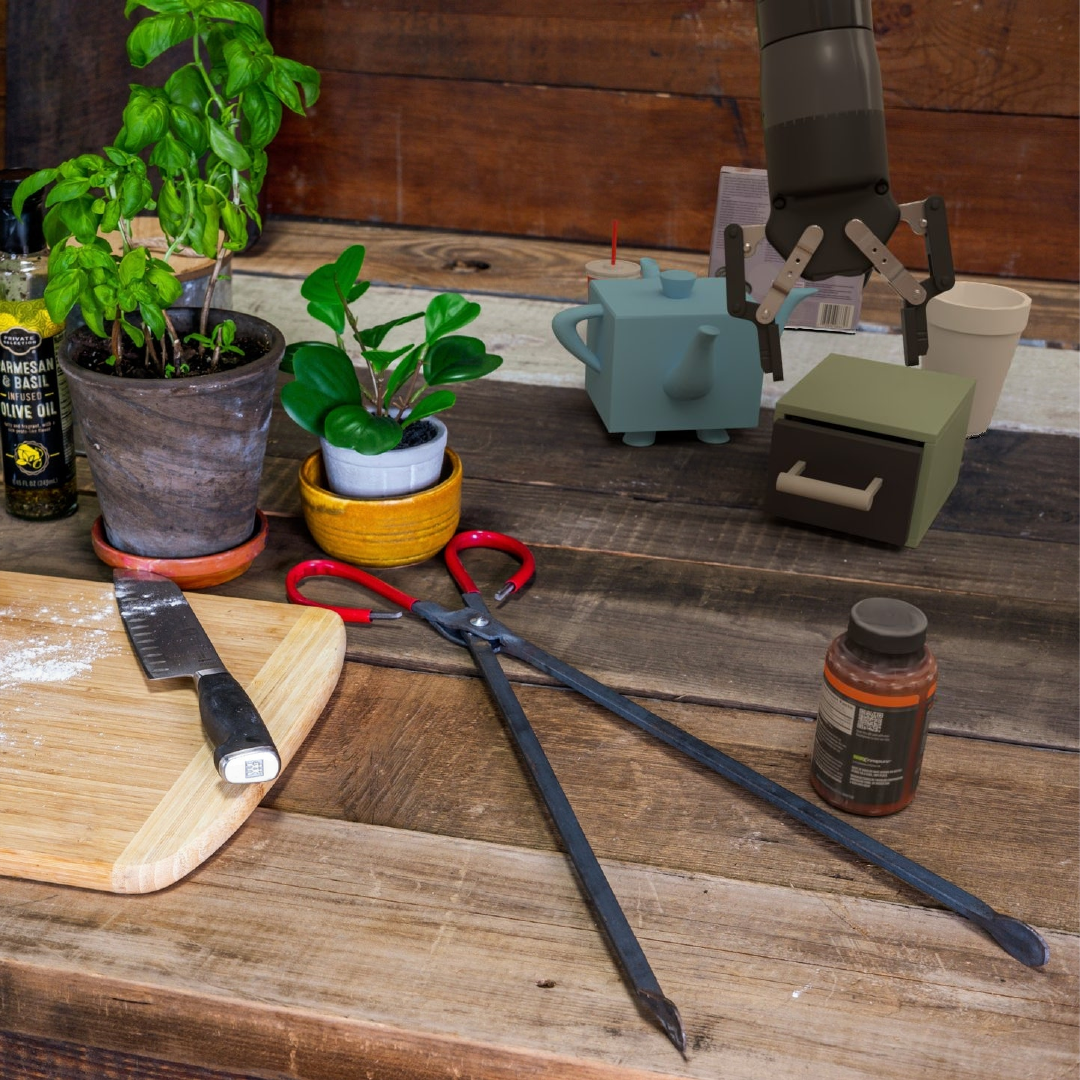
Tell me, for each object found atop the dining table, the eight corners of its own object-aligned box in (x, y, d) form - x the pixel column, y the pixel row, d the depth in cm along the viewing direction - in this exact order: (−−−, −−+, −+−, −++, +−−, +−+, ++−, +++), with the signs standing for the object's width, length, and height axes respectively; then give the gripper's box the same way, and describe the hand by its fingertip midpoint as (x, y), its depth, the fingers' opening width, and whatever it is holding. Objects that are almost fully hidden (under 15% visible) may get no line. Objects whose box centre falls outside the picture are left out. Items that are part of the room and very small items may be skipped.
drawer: (887, 571, 92) (904, 475, 89) (741, 535, 97) (752, 441, 94) (943, 485, 107) (960, 398, 103) (814, 456, 112) (825, 373, 108)
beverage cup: (616, 358, 137) (623, 229, 131) (570, 346, 140) (575, 220, 134) (646, 344, 142) (654, 219, 135) (602, 333, 145) (608, 211, 139)
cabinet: (916, 549, 98) (937, 434, 94) (762, 512, 103) (775, 402, 99) (956, 483, 109) (977, 378, 105) (816, 453, 115) (830, 352, 110)
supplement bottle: (888, 751, 74) (920, 583, 69) (933, 816, 69) (971, 640, 64) (792, 759, 73) (816, 590, 68) (830, 826, 68) (860, 647, 63)
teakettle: (533, 430, 118) (537, 275, 111) (638, 377, 132) (647, 237, 125) (711, 482, 108) (726, 316, 102) (804, 419, 122) (823, 269, 115)
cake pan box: (864, 324, 151) (886, 173, 143) (866, 336, 147) (889, 182, 139) (704, 311, 154) (717, 163, 146) (701, 323, 149) (715, 171, 141)
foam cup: (931, 447, 117) (955, 311, 111) (886, 411, 125) (907, 282, 119) (1023, 441, 118) (1052, 307, 113) (973, 407, 127) (998, 280, 121)
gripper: (706, 127, 77) (733, 390, 80) (947, 88, 74) (967, 362, 77) (712, 142, 85) (736, 383, 87) (931, 108, 82) (950, 357, 84)
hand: (845, 373), depth 82 cm, fingers open, 8 cm apart
